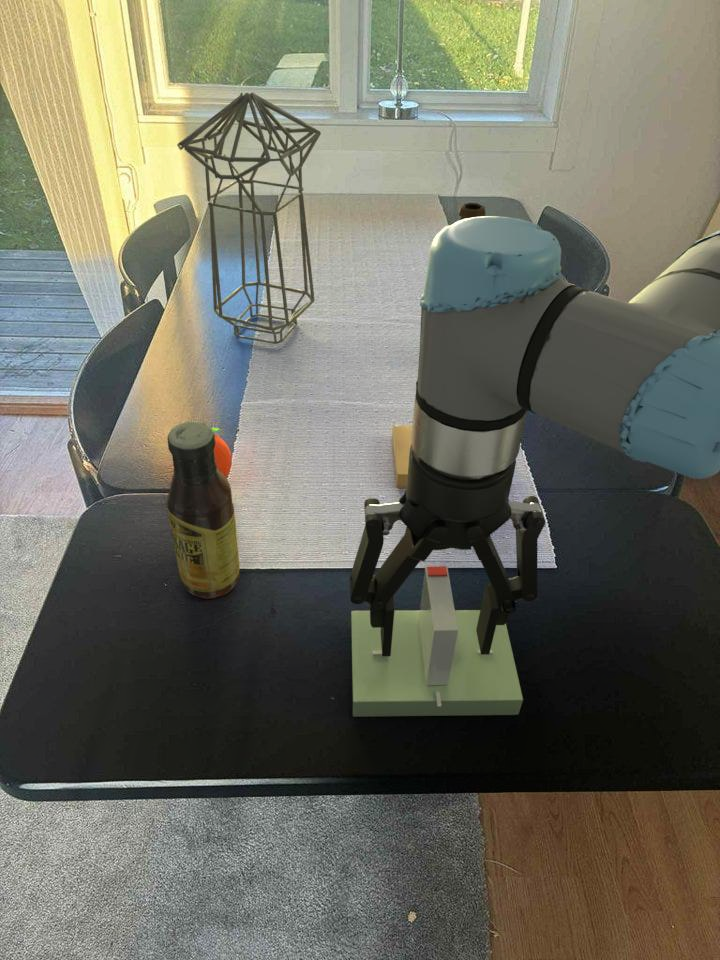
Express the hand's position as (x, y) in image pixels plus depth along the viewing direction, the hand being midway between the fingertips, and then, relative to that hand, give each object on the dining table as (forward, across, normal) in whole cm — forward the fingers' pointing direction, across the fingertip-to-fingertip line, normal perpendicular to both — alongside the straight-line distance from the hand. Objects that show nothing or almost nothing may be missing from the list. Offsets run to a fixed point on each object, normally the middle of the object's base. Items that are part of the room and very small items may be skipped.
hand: (434, 642), depth 64 cm
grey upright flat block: (+1, 0, 0) cm, 1 cm away
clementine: (+4, +24, -28) cm, 37 cm away
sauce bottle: (+4, +22, -11) cm, 25 cm away
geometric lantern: (+4, +20, -65) cm, 68 cm away
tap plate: (+4, 0, 0) cm, 4 cm away
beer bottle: (+4, -10, -55) cm, 56 cm away
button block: (+4, -5, -31) cm, 32 cm away
